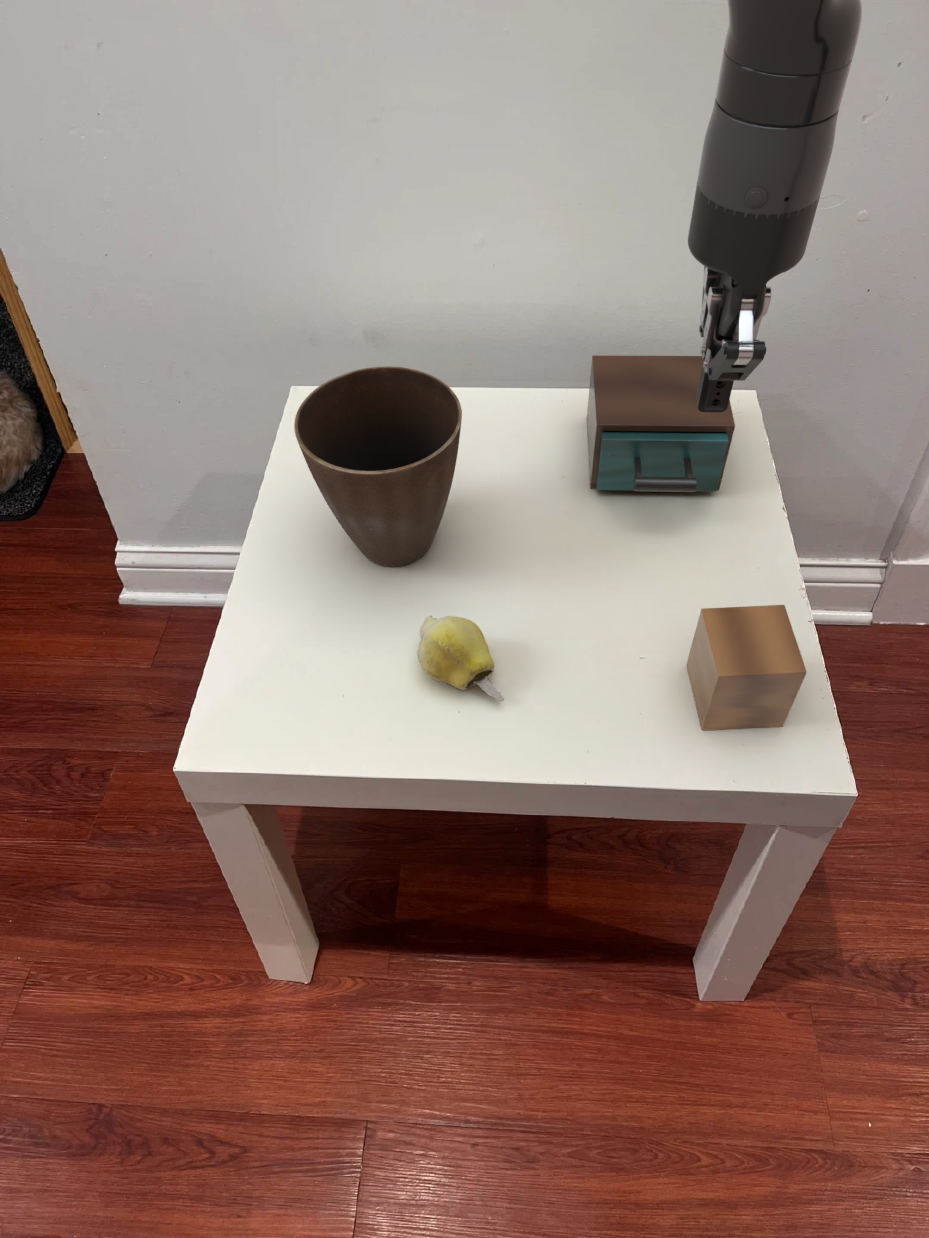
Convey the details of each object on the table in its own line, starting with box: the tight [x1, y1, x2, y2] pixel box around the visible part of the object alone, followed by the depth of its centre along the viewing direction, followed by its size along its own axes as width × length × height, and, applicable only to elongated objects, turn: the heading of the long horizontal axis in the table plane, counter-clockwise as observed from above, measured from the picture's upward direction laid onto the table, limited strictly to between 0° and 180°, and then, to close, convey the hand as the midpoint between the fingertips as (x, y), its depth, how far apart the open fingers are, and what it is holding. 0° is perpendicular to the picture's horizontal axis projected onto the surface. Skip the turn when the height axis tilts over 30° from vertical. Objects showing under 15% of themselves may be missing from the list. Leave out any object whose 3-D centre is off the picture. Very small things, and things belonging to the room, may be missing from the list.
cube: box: [686, 604, 807, 731], centre depth 78 cm, size 7×7×8 cm
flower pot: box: [293, 365, 463, 568], centre depth 88 cm, size 15×15×16 cm
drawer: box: [596, 431, 729, 493], centre depth 96 cm, size 15×12×7 cm
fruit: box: [416, 615, 505, 702], centre depth 82 cm, size 6×6×10 cm
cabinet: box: [586, 354, 736, 491], centre depth 98 cm, size 12×14×9 cm
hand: (710, 405), depth 71 cm, fingers closed
